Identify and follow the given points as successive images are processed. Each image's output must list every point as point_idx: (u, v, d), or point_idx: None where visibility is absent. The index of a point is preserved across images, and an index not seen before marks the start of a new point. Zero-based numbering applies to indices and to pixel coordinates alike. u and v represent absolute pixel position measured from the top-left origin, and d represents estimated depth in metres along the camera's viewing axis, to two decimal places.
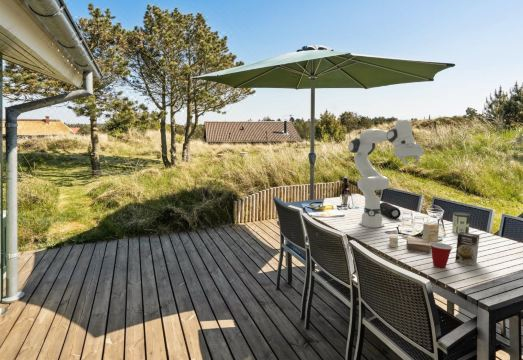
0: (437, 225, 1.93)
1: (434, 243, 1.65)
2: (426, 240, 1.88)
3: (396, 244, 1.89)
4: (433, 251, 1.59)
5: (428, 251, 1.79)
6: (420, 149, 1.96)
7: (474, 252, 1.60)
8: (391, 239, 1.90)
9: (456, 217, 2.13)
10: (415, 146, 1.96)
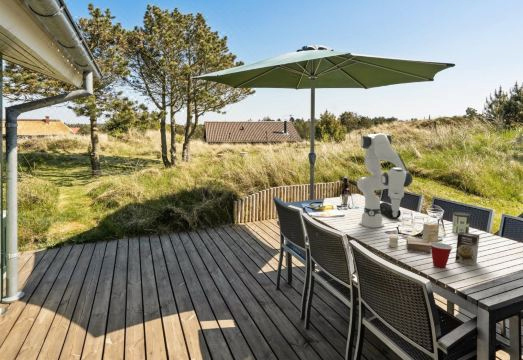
0: (437, 225, 1.93)
1: (434, 243, 1.65)
2: (426, 240, 1.88)
3: (396, 244, 1.89)
4: (433, 251, 1.59)
5: (428, 251, 1.79)
6: None
7: (474, 252, 1.60)
8: (391, 239, 1.90)
9: (456, 217, 2.13)
10: None
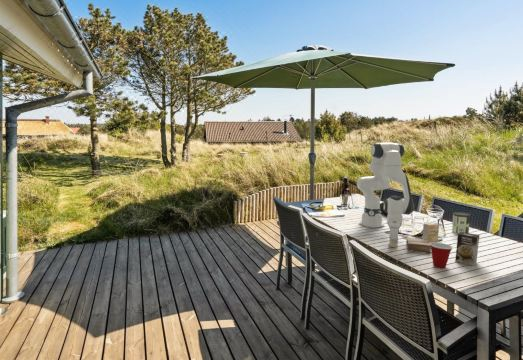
0: (437, 225, 1.93)
1: (434, 243, 1.65)
2: (426, 240, 1.88)
3: (396, 244, 1.89)
4: (433, 251, 1.59)
5: (428, 251, 1.79)
6: None
7: (474, 252, 1.60)
8: None
9: (456, 217, 2.13)
10: None
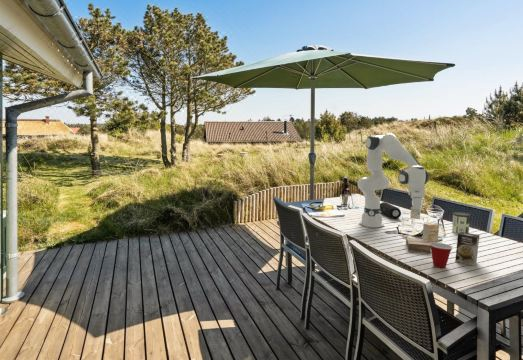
0: (437, 225, 1.93)
1: (434, 243, 1.65)
2: (425, 240, 1.88)
3: (418, 215, 1.82)
4: (433, 251, 1.59)
5: (429, 251, 1.79)
6: None
7: (474, 252, 1.60)
8: (413, 211, 1.82)
9: (456, 217, 2.13)
10: None
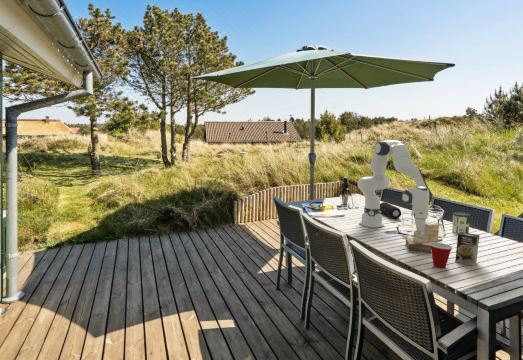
0: (437, 225, 1.93)
1: (434, 243, 1.65)
2: (425, 240, 1.88)
3: (421, 239, 1.83)
4: (433, 251, 1.59)
5: (429, 251, 1.79)
6: None
7: (474, 252, 1.60)
8: None
9: (456, 217, 2.13)
10: None
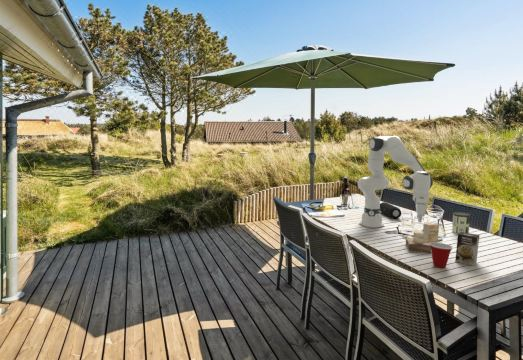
0: (437, 225, 1.93)
1: (434, 243, 1.65)
2: (425, 240, 1.88)
3: (421, 239, 1.83)
4: (433, 251, 1.59)
5: (429, 251, 1.79)
6: None
7: (474, 252, 1.60)
8: (417, 235, 1.84)
9: (456, 217, 2.13)
10: None
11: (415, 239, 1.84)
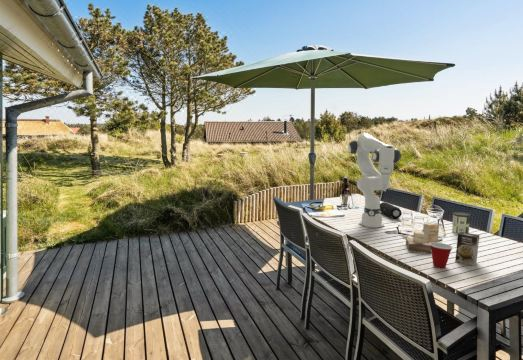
0: (437, 225, 1.93)
1: (434, 243, 1.65)
2: (425, 240, 1.88)
3: (422, 240, 1.83)
4: (433, 251, 1.59)
5: (429, 251, 1.79)
6: None
7: (474, 252, 1.60)
8: (417, 235, 1.84)
9: (456, 217, 2.13)
10: None
11: (415, 239, 1.84)
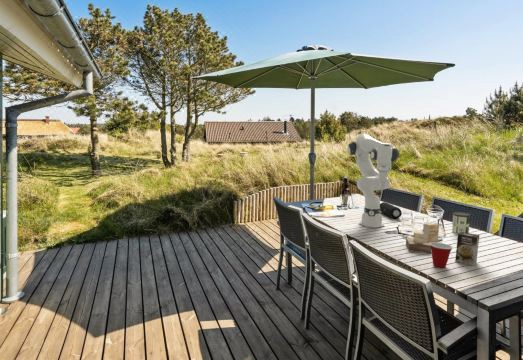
0: (437, 225, 1.93)
1: (434, 243, 1.65)
2: (425, 240, 1.88)
3: (421, 239, 1.83)
4: (433, 251, 1.59)
5: (429, 251, 1.79)
6: None
7: (474, 252, 1.60)
8: (417, 235, 1.84)
9: (456, 217, 2.13)
10: None
11: (415, 239, 1.84)
